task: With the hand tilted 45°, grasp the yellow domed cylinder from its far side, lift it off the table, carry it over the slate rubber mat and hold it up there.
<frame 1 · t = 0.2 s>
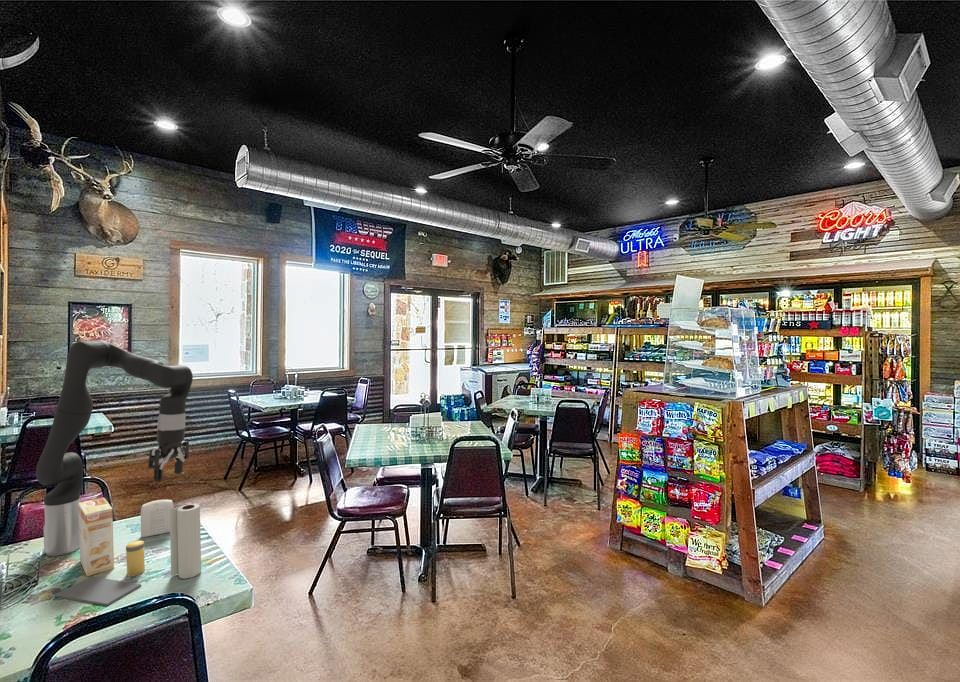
hand: (168, 477, 151), 29 cm above the table, tool pointing down, fingers open, 8 cm apart
coffeecake box: (96, 565, 152), on the table
paper towel roll: (188, 574, 146), on the table
yellow domed cylinder: (135, 572, 147), on the table
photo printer: (158, 533, 175), on the table
slate mat: (98, 591, 137), on the table
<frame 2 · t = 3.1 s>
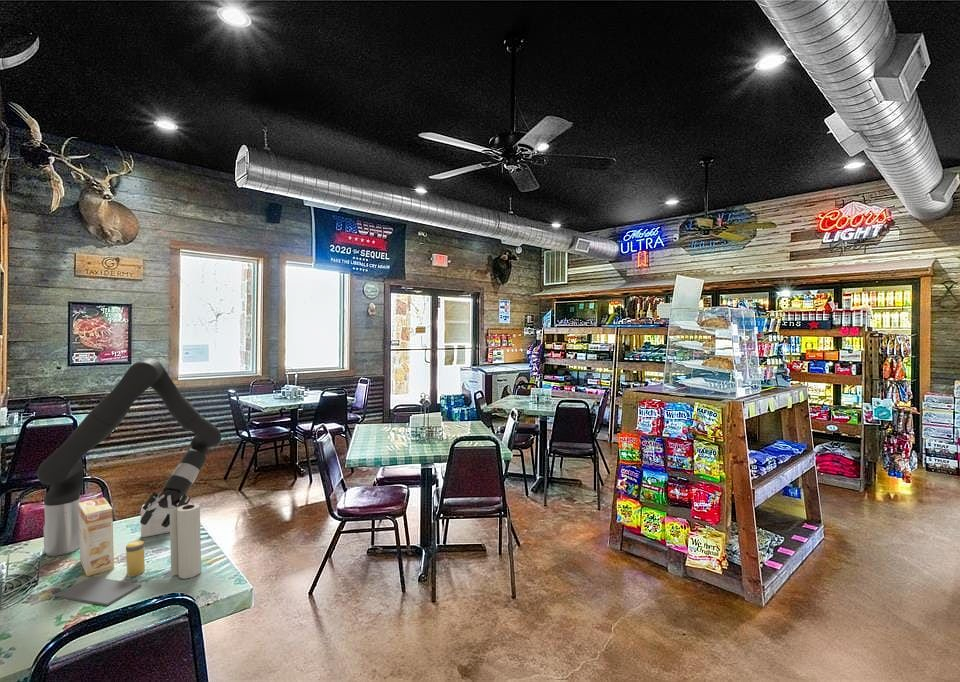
hand: (153, 525, 153), 12 cm above the table, tool tilted 45°, fingers open, 8 cm apart
nothing on the table moved.
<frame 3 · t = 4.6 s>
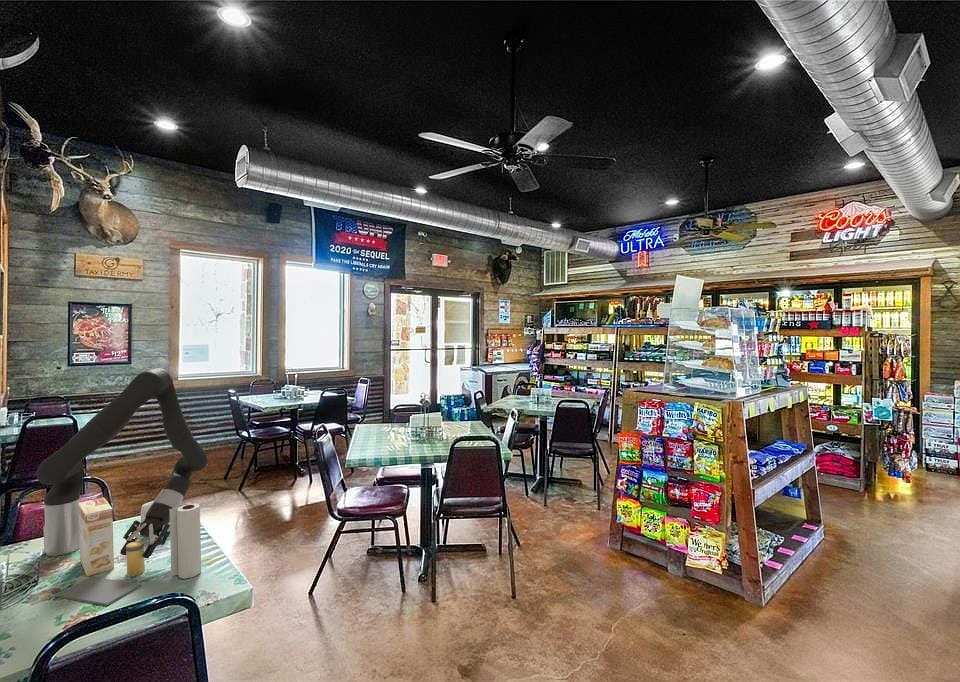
hand: (133, 556, 146), 5 cm above the table, tool tilted 45°, fingers open, 8 cm apart
nothing on the table moved.
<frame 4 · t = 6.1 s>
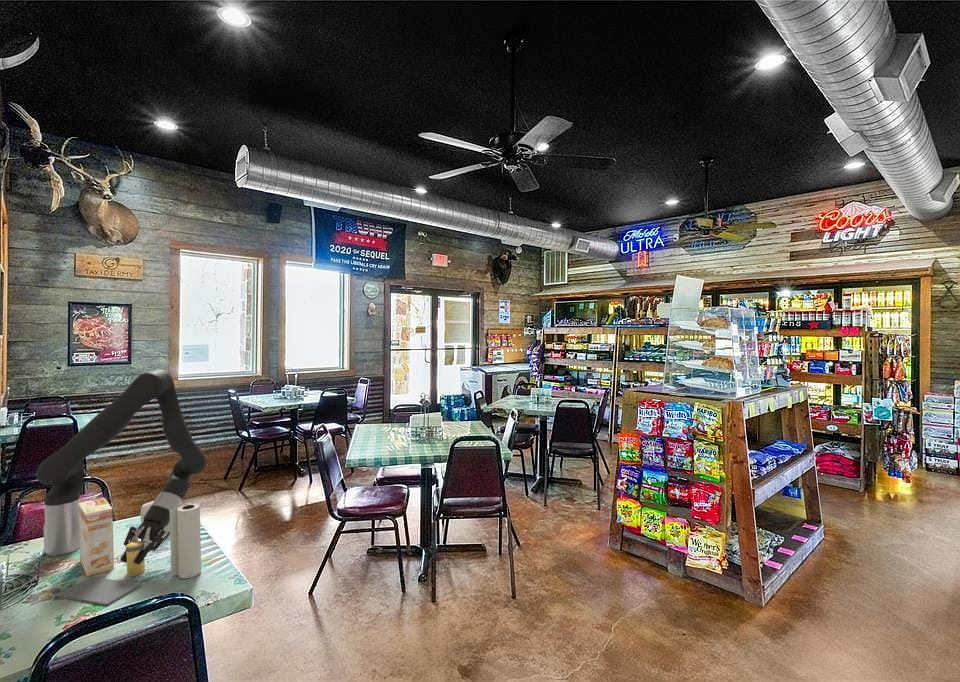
hand: (129, 562, 145), 4 cm above the table, tool tilted 45°, fingers closed on yellow domed cylinder, 4 cm apart
yellow domed cylinder: (136, 572, 147), on the table, touching gripper
everything else where it was.
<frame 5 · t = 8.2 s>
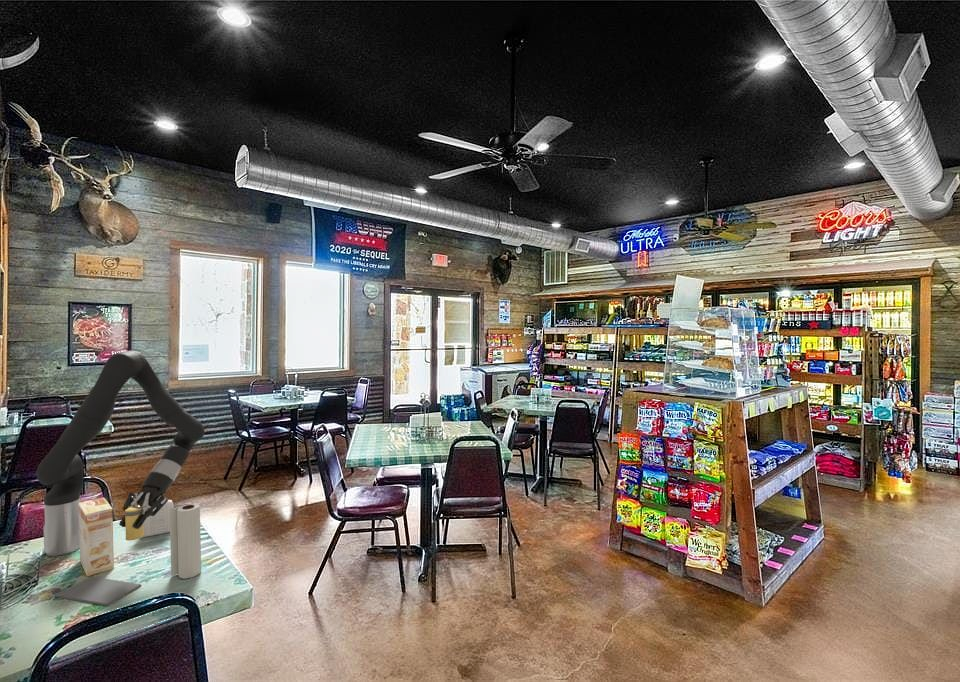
hand: (128, 526, 145), 15 cm above the table, tool tilted 45°, fingers closed on yellow domed cylinder, 4 cm apart
yellow domed cylinder: (134, 537, 147), point 11 cm above the table, touching gripper
everything else where it was.
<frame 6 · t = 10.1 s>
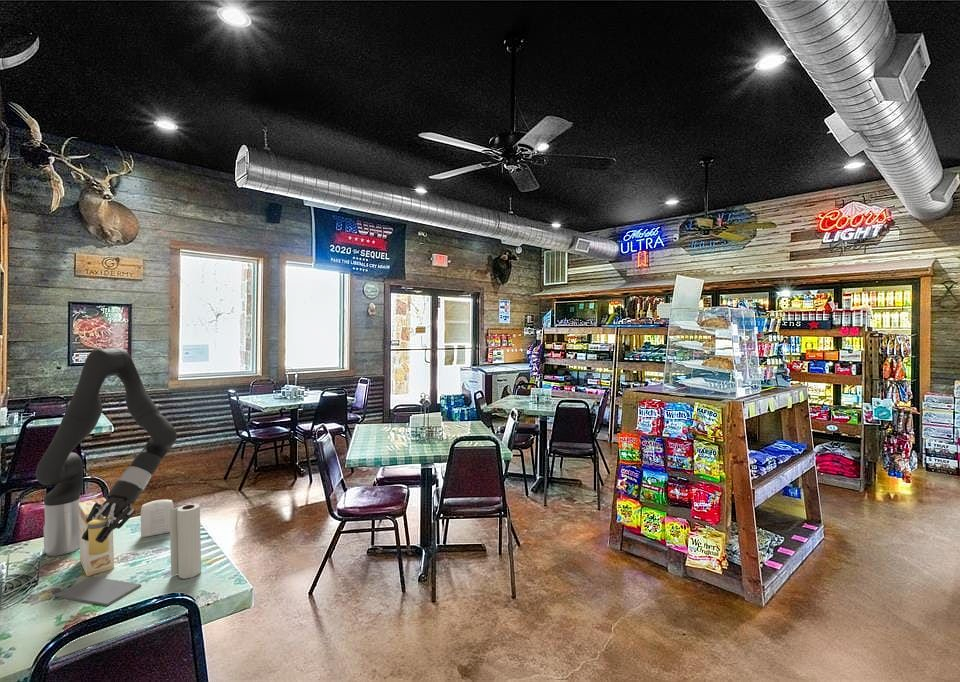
hand: (91, 540, 134), 16 cm above the table, tool tilted 45°, fingers closed on yellow domed cylinder, 4 cm apart
yellow domed cylinder: (99, 551, 136), point 12 cm above the table, touching gripper
everything else where it was.
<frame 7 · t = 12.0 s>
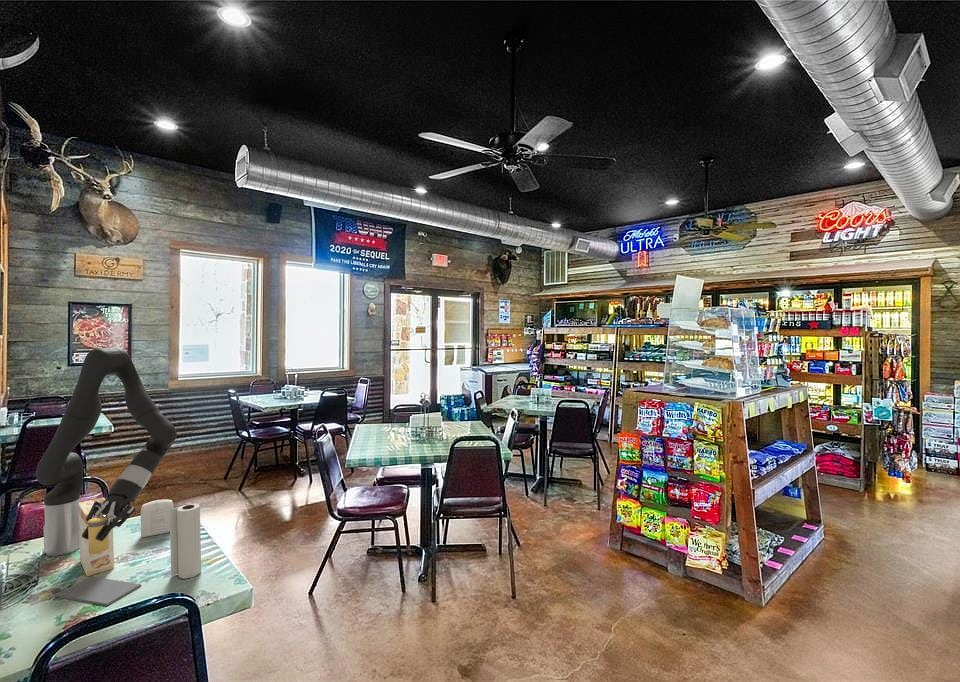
hand: (91, 538, 134), 17 cm above the table, tool tilted 45°, fingers closed on yellow domed cylinder, 4 cm apart
yellow domed cylinder: (99, 549, 136), point 12 cm above the table, touching gripper
everything else where it was.
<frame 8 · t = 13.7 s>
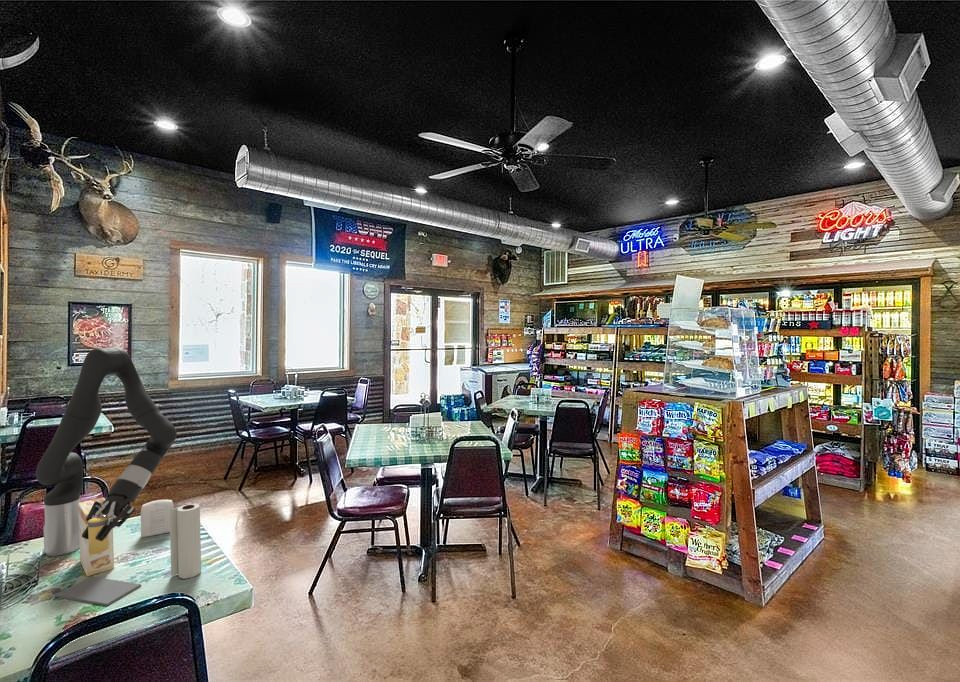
hand: (91, 538, 134), 17 cm above the table, tool tilted 45°, fingers closed on yellow domed cylinder, 4 cm apart
yellow domed cylinder: (99, 549, 136), point 12 cm above the table, touching gripper
everything else where it was.
at the end: the gripper is holding yellow domed cylinder; yellow domed cylinder point 12.4 cm above the table; yellow domed cylinder inside the target area (0.0 cm from its centre), point 12.4 cm above the table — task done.
